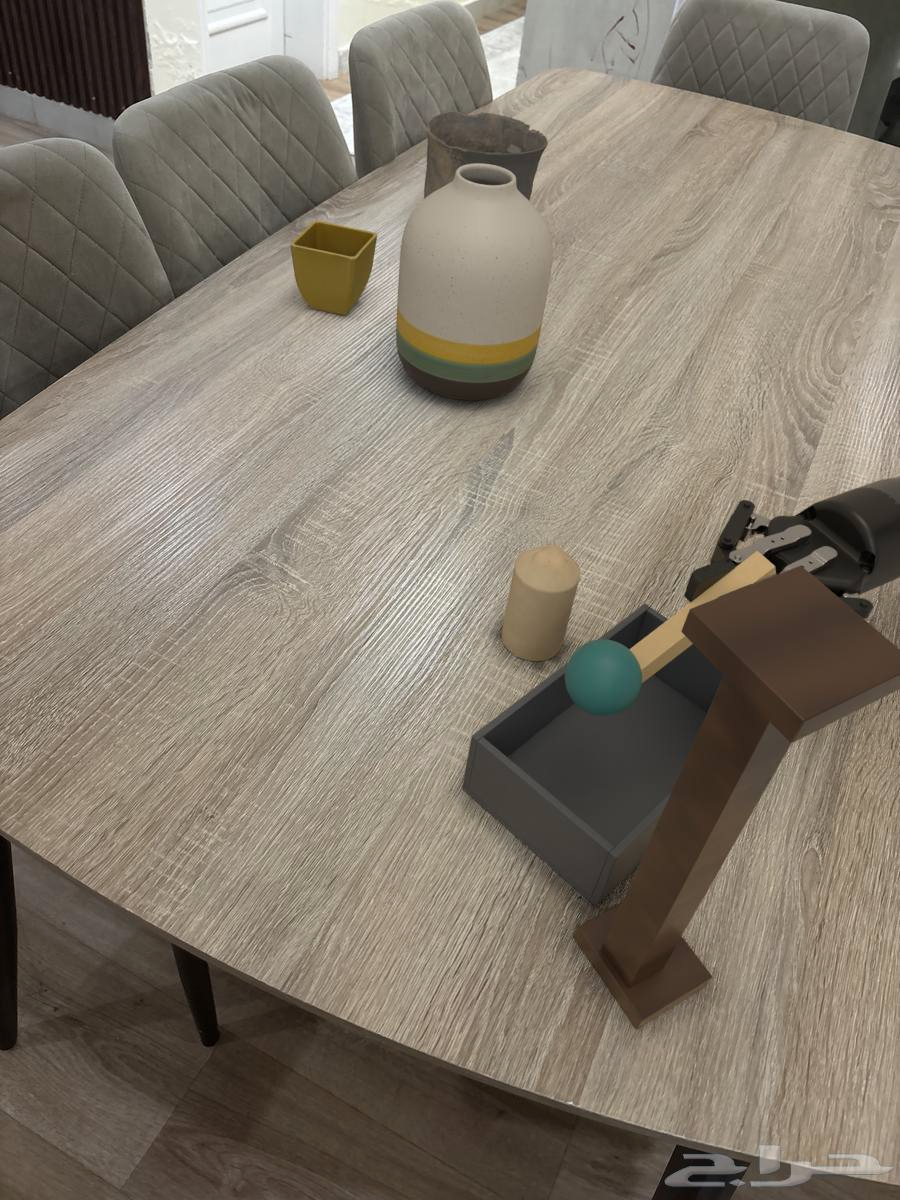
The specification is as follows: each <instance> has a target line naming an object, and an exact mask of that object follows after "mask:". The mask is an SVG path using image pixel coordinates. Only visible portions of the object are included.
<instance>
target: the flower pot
mask: <svg viewBox="0 0 900 1200" xmlns="http://www.w3.org/2000/svg"><path fill="white" fill-rule="evenodd" d="M377 241H378V233H377V232H373V231H370V230H364V229H359V228H354V227H350V226H345V225H340V224H336V223H331V222H326V221H321V220H314V221H313V222H312V223H310V224H309V225H308V226H307V227H306V228H304V229H303V231H302V232H301V233H299V235H298V236H296V237H295V238H294V240H292V241H291V242H290V246H289V247H290V253H291V261H292V266H293V273H294V279H295V283H296V286H297V289H298V291H299V293H300V295H301V296H302V298H303V300H304V301H305V303H306V304H307V305H308V306H309V307H310V308H311V309H314V310H319V311H324V312H328V313H333V314H338V315H342V316H345V315H347V314H348V313H349V312H350V310H351V309H352V308H353V307H354V305H355V304H357V302H358V301H359V299H360V298H361V296H362V294H363V292H364V291H365V289H366V287H367V285H368V282H369V280H370V277H371V275H372V270H373V267H374V266H373V265H374V259H375V253H376V246H377Z"/></svg>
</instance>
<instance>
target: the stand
mask: <svg viewBox="0 0 900 1200" xmlns="http://www.w3.org/2000/svg"><path fill="white" fill-rule="evenodd" d="M681 632H682V633H683V634H684V635H685V636H686V637H687V638H688V639H689V640H690V641H691V642H692V643H693V644H694V645H695V646H696V647H697V648H698V649H699V650H700V651H701V652H702V653H703V654H704V655H705V657H706V658H707V659H708V660H709V661H710V662H711V663H712V664H713V665H714V666H715V667H716V668H717V669H718V670H719V671H720V672H721V673H722V674H723V675H724V677H723V679H722V681H721V684H720V686H719V688H718V690H717V692H716V695H715V697H714V699H713V701H712V704H711V706H710V708H709V710H708V712H707V715H706V717H705V719H704V721H703V723H702V726H701V728H700V730H699V732H698V735H697V737H696V739H695V741H694V743H693V746H692V748H691V750H690V752H689V755H688V757H687V759H686V761H685V763H684V766H683V768H682V770H681V772H680V775H679V777H678V779H677V781H676V783H675V786H674V788H673V790H672V792H671V795H670V797H669V799H668V801H667V803H666V806H665V808H664V810H663V812H662V815H661V817H660V819H659V821H658V823H657V826H656V828H655V830H654V832H653V835H652V837H651V839H650V841H649V843H648V846H647V848H646V850H645V852H644V855H643V857H642V859H641V861H640V863H639V864H638V865H637V867H636V870H635V872H634V875H633V876H632V879H631V882H630V883H629V886H628V888H627V890H626V892H625V894H624V897H623V898H622V901H621V903H619V904H616V905H615V906H613V907H611V908H610V909H607V910H606V911H604V912H602V913H600V914H598V915H596V916H595V917H593V918H591V919H589V920H587V921H585V922H583V923H582V924H580V925H578V926H577V927H576V929H575V931H574V935H573V939H574V940H575V942H576V943H577V945H578V946H579V948H580V949H581V951H582V952H583V953H584V955H585V956H586V958H587V959H588V961H589V962H590V964H591V966H592V967H593V968H594V970H595V972H597V974H598V975H599V977H600V978H601V980H602V981H603V983H604V984H605V986H606V987H607V989H608V990H609V991H610V993H611V994H612V996H613V997H614V999H615V1000H616V1002H617V1003H618V1004H619V1005H618V1006H619V1007H620V1008H621V1010H622V1011H623V1012H624V1013H625V1015H626V1016H627V1018H628V1019H629V1021H630V1022H631V1024H632V1025H633V1027H634V1028H635V1030H639V1029H640V1028H642V1027H644V1026H645V1025H647V1024H648V1023H650V1022H652V1021H653V1020H654V1019H656V1018H658V1017H659V1016H661V1015H663V1014H664V1013H666V1012H667V1011H669V1010H671V1009H672V1008H673V1007H676V1006H677V1005H679V1004H681V1003H682V1002H683V1001H685V1000H687V999H688V998H690V997H692V996H693V995H695V994H697V993H698V992H700V991H701V990H703V989H704V988H706V987H707V986H708V984H709V983H710V981H711V980H712V978H713V975H712V974H711V973H710V971H709V970H708V969H707V967H706V966H705V965H704V964H703V962H702V961H701V960H700V958H699V957H698V956H697V954H696V953H695V952H694V950H693V949H692V948H691V946H690V945H689V944H688V943H687V941H686V940H685V938H684V937H683V935H684V933H685V931H686V930H687V929H688V926H689V924H690V922H691V921H692V919H693V918H694V916H695V914H696V912H697V910H698V909H699V907H700V905H701V903H702V902H703V900H704V898H705V897H706V895H707V893H708V891H709V890H710V888H711V886H712V884H713V882H714V880H715V879H716V878H717V875H718V873H719V872H720V870H721V868H722V866H724V865H723V864H724V863H725V861H726V859H727V858H728V856H729V854H730V852H731V850H732V849H733V847H734V845H735V844H736V842H737V840H738V838H739V837H740V835H741V833H742V831H743V830H744V828H745V826H746V824H747V823H748V821H749V819H750V818H751V816H752V814H753V812H754V810H755V808H756V807H757V805H758V803H759V801H760V799H761V798H762V796H763V794H764V793H765V791H766V789H767V787H768V786H769V784H770V782H771V781H772V779H773V777H774V776H775V774H776V772H777V770H778V768H779V766H780V764H781V763H782V761H783V759H784V757H785V756H786V754H787V752H788V750H789V749H790V747H791V745H792V744H793V743H795V742H797V741H799V740H801V739H804V738H805V737H807V736H809V735H811V734H813V733H815V732H818V731H819V730H821V729H823V728H825V727H827V726H829V725H831V724H833V723H835V722H837V721H839V720H841V719H843V718H845V717H848V716H849V715H851V714H853V713H855V712H857V711H859V710H861V709H863V708H865V707H867V706H869V705H871V704H873V703H875V702H877V701H878V700H881V699H883V698H884V697H887V696H889V695H891V694H893V693H895V692H897V691H899V690H900V648H899V647H898V646H897V645H895V644H894V643H893V642H892V641H890V640H889V639H888V638H887V637H886V636H885V635H883V634H882V633H881V632H880V631H879V630H877V629H876V628H875V627H874V626H873V625H872V624H870V623H869V622H868V620H864V619H863V618H862V617H861V616H860V615H859V614H857V613H856V612H855V611H854V610H853V609H851V608H850V607H849V606H848V605H847V604H846V603H844V602H843V601H842V600H841V599H840V598H839V597H837V596H836V595H835V594H834V593H833V592H832V591H830V590H829V589H828V588H827V587H826V586H824V585H823V584H822V583H821V582H820V581H819V580H817V579H816V578H815V577H814V576H813V575H812V574H810V573H809V572H808V571H807V570H806V569H805V568H803V567H802V566H798V567H795V568H793V569H790V570H788V571H785V572H783V573H780V574H778V575H775V576H773V577H770V578H767V579H765V580H762V581H760V582H757V583H755V584H752V585H750V586H747V587H745V588H742V589H739V590H737V591H734V592H732V593H729V594H727V595H724V596H722V597H719V598H717V599H714V600H711V601H709V602H706V603H704V604H701V605H699V606H696V607H694V608H691V609H690V610H689V612H688V615H687V618H686V620H685V623H684V625H683V628H682V631H681Z"/></svg>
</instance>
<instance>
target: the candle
mask: <svg viewBox="0 0 900 1200" xmlns="http://www.w3.org/2000/svg"><path fill="white" fill-rule="evenodd" d="M580 579H581V569H580V566H579V564H578V562H577V561H576V559H574V558H573V557H572V556H571V555H569V553H567V552H566V551H565V550H564V549H562V547H561V546H560V545H558V544H548V545H540V546H535V547H531V548H528V549H526V550H524V551H522V552H521V553H520V554H519V555H518V556H517V557H516V559H515V561H514V566H513V570H512V576H511V582H510V586H509V592H508V597H507V602H506V608H505V613H504V617H503V623H502V628H501V629H502V630H501V639H502V642H503V645H504V646H505V649H507V650H508V651H509V652H510V653H511V654H512V655H514V656H515V657H517V658H519V659H522V660H525V661H529V662H543V661H547V660H550V659H553V658H554V657H555V656H556V655H557V654H558V653H559V652H560V650H561V649H562V647H563V644H564V640H565V637H566V633H567V629H568V625H569V622H570V618H571V613H572V609H573V606H574V601H575V597H576V594H577V590H578V588H579V587H578V586H579V582H580Z"/></svg>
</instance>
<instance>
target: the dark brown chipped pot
mask: <svg viewBox="0 0 900 1200" xmlns="http://www.w3.org/2000/svg"><path fill="white" fill-rule="evenodd" d="M530 128H531V124H526V123H525V121H522V120H520V119H516V118H513V117H508V116H505V115H503V114H495V113H491V112H479V113H474V114H469V113H462V112H461V111H448V112H444V113H440V114H437V115H435V116H433V117H431V118H430V120H429V121H428V123H427V126H426V134H427V145H426V146H427V147H426V168H425V169H426V170H425V179H424V185H423V186H424V187H423V188H424V189H423V199H425V198H426V197H427V196H429V195H430V194H431V193H433V192H435V191H436V190H438V189H440V188H442V187H444V186H446V185H447V184H449V183H451V182H452V181H453V179H454V177H455V173H456V171H457V169H458V168H459V167H461V166H463V165H467V164H476V163H480V164H490V165H495V166H499V167H502V168H505V169H507V170H509V171H511V172H512V173H513V174H514V175H515V177H516V186H517V190H518V191H519V192H520V193H521V194H522V195H523V196H524V197H526V198H527V199H528V200H529V201H530V200H531V196H532V193H533V186H534V181H535V177H536V175H537V172H538V168H539V164H540V162H541V158H542V156H543V154H544V152H545V150H546V149H547V147H548V145H549V141H548V139H547V137H546V135H544V134H543V133H542V132H540V130H536V129H534V128H533V129H530ZM530 202H531V201H530Z"/></svg>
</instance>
